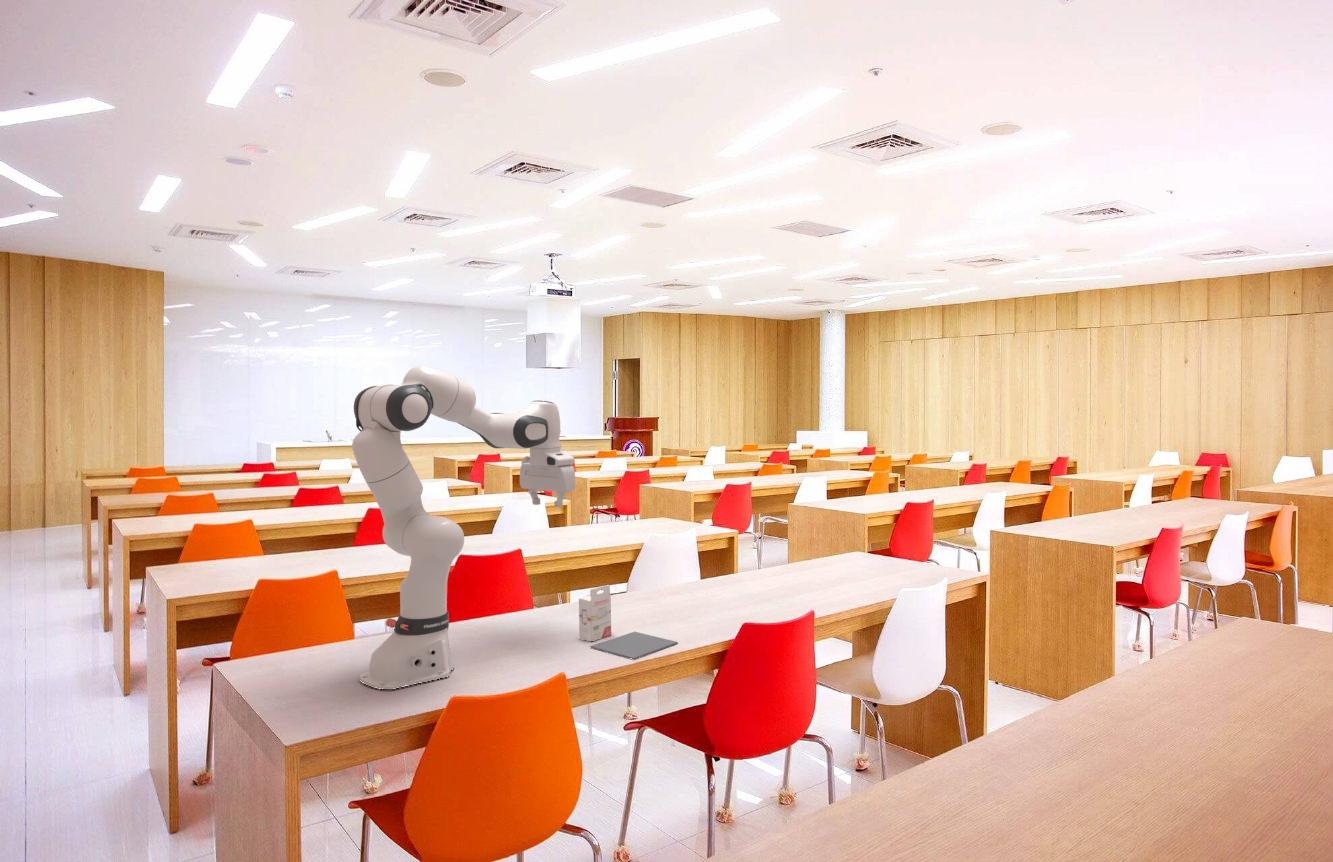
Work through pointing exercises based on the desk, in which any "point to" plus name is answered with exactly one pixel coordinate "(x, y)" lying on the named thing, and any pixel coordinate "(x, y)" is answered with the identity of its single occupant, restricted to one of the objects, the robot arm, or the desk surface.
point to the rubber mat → (634, 645)
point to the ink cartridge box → (595, 614)
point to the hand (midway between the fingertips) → (547, 505)
